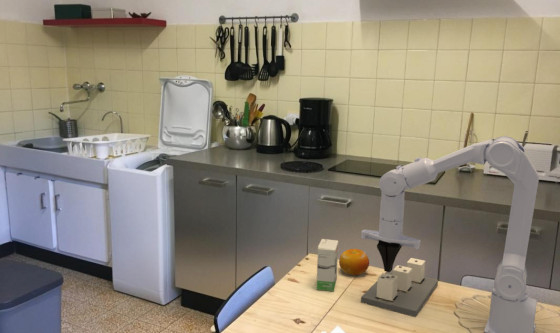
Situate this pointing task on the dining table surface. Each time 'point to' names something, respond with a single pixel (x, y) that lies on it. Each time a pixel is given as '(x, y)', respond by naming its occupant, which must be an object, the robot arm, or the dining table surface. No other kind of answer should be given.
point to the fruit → (354, 262)
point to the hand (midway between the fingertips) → (388, 270)
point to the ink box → (327, 264)
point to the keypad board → (403, 297)
